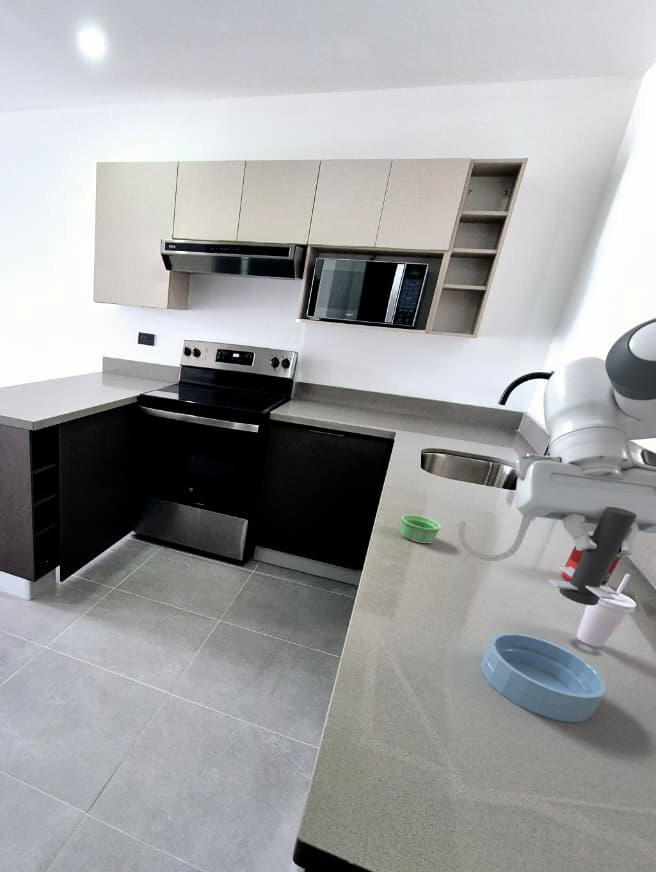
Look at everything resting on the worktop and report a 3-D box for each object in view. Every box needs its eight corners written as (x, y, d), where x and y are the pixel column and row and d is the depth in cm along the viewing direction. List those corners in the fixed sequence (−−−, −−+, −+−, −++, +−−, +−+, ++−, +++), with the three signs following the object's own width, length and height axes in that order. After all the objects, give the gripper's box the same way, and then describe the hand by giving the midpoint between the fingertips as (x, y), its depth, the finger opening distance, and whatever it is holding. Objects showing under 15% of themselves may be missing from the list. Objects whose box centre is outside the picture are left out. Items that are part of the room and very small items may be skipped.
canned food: (605, 595, 108) (629, 550, 104) (561, 582, 112) (583, 538, 107) (600, 582, 114) (623, 539, 110) (559, 570, 118) (580, 527, 113)
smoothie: (619, 654, 87) (660, 584, 81) (589, 654, 86) (628, 584, 80) (586, 631, 93) (622, 565, 87) (558, 631, 91) (592, 564, 86)
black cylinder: (586, 585, 74) (628, 503, 69) (631, 617, 66) (682, 528, 61) (529, 578, 74) (567, 496, 69) (568, 609, 66) (613, 519, 61)
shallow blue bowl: (573, 677, 79) (587, 651, 77) (605, 740, 67) (623, 712, 65) (473, 647, 84) (484, 622, 82) (486, 701, 71) (499, 673, 69)
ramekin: (398, 527, 132) (403, 511, 130) (435, 536, 129) (440, 520, 127) (395, 538, 124) (401, 522, 122) (435, 548, 121) (441, 532, 119)
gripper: (529, 440, 69) (540, 532, 64) (683, 460, 68) (707, 556, 63) (501, 462, 75) (509, 548, 70) (643, 481, 74) (661, 570, 69)
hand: (604, 552), depth 66 cm, fingers closed on black cylinder, 3 cm apart
